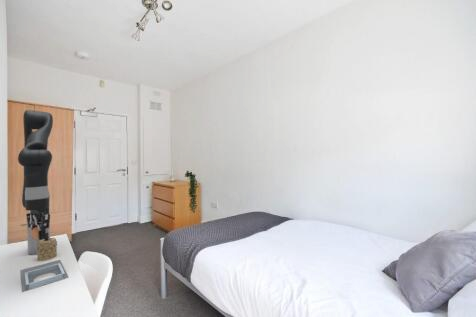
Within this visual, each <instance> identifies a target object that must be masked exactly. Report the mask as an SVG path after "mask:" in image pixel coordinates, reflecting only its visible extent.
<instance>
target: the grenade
mask: <svg viewBox="0 0 476 317" xmlns="http://www.w3.org/2000/svg"><path fill="white" fill-rule="evenodd" d="M57 246H58V241H57V238H55V237H50V238H49V235H48V229H46V238H45V239H43V240H40V241H38V242H37V254H36V255H37V261H38V262H45V261H49V260H52V259H54V258H56V257H58V256H57V255H58V253H57V251H58V250H57V249H58V248H57Z"/></svg>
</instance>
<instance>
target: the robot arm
mask: <svg viewBox="0 0 476 317" xmlns="http://www.w3.org/2000/svg"><path fill="white" fill-rule="evenodd" d="M22 117H23V118H22V119H23V137H24V144H23V146H24V147H23V148H22V149H21V150H20V152H19V153H18V154H17V155H18V156H17V162H18V163H19V164H20V165H21V166H22V167H23V184H22V185H23V186H22V196H21V203H22V206H23V208H25V210H26V211H30V212H28V213H26V229H27V230H26V233H27V234H26V235H27V238H26V239H27V254H28V255H37V242H38V241H40V240H43V239H45V238H46V229H48V235H49V238H51V228H50V225H51V224H50V222H51V214H50V196H51V195H50V191H49V186H48V185H49V184H48V183H49V182H48V178H49V177H48V175H49V169H50V166H51V164H52V161H53V154H52V152H51V151H50V150H48V145H49V142H48V141H49V138H50V136H51V135H50V134H51V132H52V129H53V124H54V122H53V121H54V120H53V119H54V118H53V115H52V113H50V112H46V111H39V110H30V109H26V110H24V112H23V116H22ZM33 130H35V131H33ZM35 227H38V230H39V231H38V234H39V239H34V238H32V237H31V231H32V230H33V229H34V228H35Z"/></svg>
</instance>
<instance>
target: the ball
mask: <svg viewBox="0 0 476 317" xmlns="http://www.w3.org/2000/svg"><path fill="white" fill-rule="evenodd" d="M38 231H39V230H38V227H35V228H34V229H33V230H32V231H31V237H32V238H34V239H39V234H38Z"/></svg>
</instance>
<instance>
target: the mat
mask: <svg viewBox="0 0 476 317" xmlns="http://www.w3.org/2000/svg"><path fill="white" fill-rule="evenodd" d="M58 263H60V264H61V266H62V268H63V270H64V272H65V279H64V280H66V279H69V275H68V273H67V271H66V269H65V266H64V265H63V262H62V260H61V259H57V260H54V261H50V262H45V263H42V264H38V265H35V266H31V267H27V268H24V269H21V270H20V271H19V272H20V284H21V285H20V286H21V293H25V292H27V291H31V290H34V289H37V288H40V287H41V286H39V287H36V288H33V289H30V290H27V291H26V283H25V272H29V271H33V270H36V269H40V268H44V267H47V266H51V265H54V264H58ZM48 273H55V274H56V275H59V274H60V272H59V269H55V270H52V271H48V272H45V273H41V274H38V275H34V276H31V277H28V280H29V283H32V282H34V281H33V280H34V279H35V278H37V277H38V276H41V275H44V274H48ZM62 280H63V279H61V280H58V281H55V282H59V281H62ZM55 282H52V283H55ZM52 283H49V284H46V285H43V286H47V285H50V284H52ZM43 286H42V287H43Z"/></svg>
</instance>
